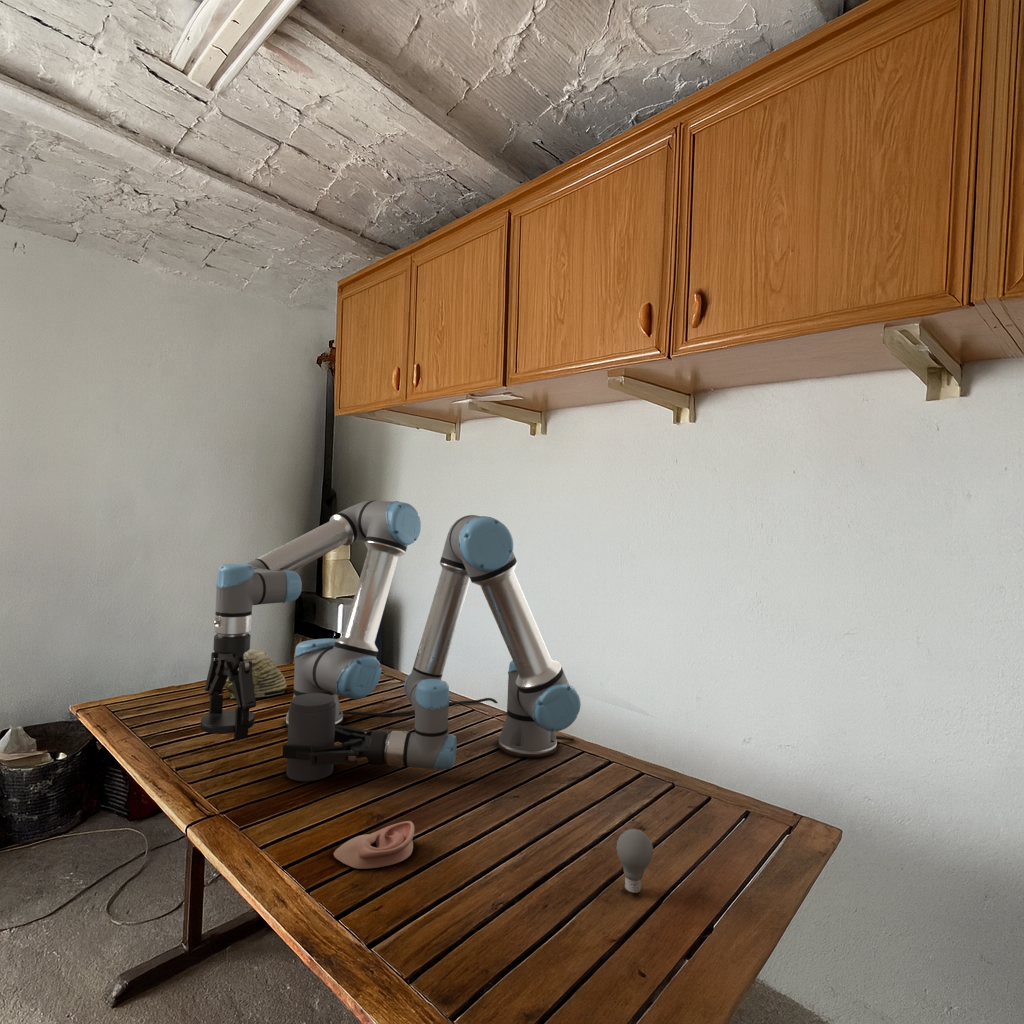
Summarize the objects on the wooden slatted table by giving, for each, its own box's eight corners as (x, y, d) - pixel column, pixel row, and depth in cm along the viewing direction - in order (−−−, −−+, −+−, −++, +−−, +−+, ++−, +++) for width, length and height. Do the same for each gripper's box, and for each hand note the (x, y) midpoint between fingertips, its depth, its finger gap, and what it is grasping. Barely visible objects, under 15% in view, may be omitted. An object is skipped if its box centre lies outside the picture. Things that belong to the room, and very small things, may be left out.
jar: (277, 770, 145) (280, 698, 145) (318, 758, 153) (320, 689, 153) (301, 785, 138) (304, 709, 138) (342, 772, 146) (344, 700, 146)
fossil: (218, 695, 195) (220, 647, 195) (278, 685, 208) (279, 640, 207) (228, 703, 189) (230, 653, 188) (289, 692, 201) (290, 645, 201)
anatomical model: (325, 840, 109) (355, 809, 121) (324, 863, 109) (354, 830, 121) (398, 852, 107) (421, 819, 118) (397, 876, 107) (420, 840, 118)
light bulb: (610, 879, 108) (613, 822, 108) (644, 879, 109) (647, 822, 109) (619, 902, 102) (622, 840, 102) (655, 901, 103) (658, 840, 103)
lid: (264, 724, 143) (265, 716, 143) (219, 738, 134) (219, 730, 134) (235, 713, 149) (235, 706, 149) (189, 726, 140) (190, 718, 140)
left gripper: (191, 627, 146) (186, 721, 146) (243, 645, 131) (237, 750, 131) (223, 623, 152) (218, 714, 152) (276, 640, 137) (271, 741, 137)
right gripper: (373, 786, 133) (271, 779, 134) (399, 745, 156) (311, 739, 157) (375, 751, 133) (272, 744, 134) (400, 714, 156) (312, 709, 157)
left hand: (227, 731), depth 142 cm, fingers closed on lid, 11 cm apart
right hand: (293, 741), depth 146 cm, fingers closed on jar, 10 cm apart
